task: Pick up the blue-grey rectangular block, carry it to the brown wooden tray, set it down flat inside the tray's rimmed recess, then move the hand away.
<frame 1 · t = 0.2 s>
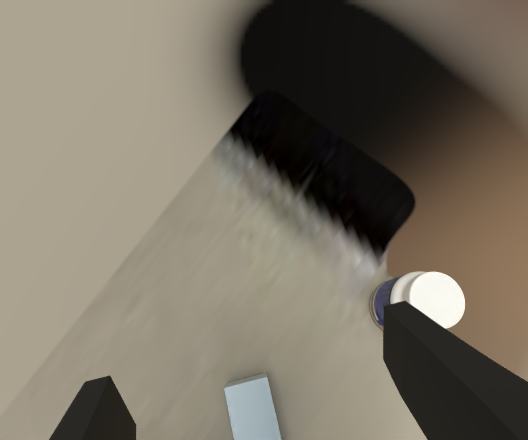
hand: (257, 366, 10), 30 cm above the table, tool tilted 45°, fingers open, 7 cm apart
pill bottle: (394, 308, 40), on the table
blue-grey rectangular block: (256, 419, 37), on the table
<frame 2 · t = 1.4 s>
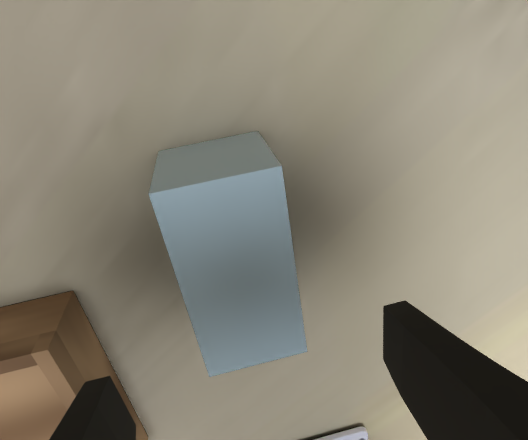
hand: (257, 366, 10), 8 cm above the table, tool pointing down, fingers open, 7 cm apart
blue-grey rectangular block: (228, 225, 17), on the table
brown wooden tray: (44, 392, 19), on the table
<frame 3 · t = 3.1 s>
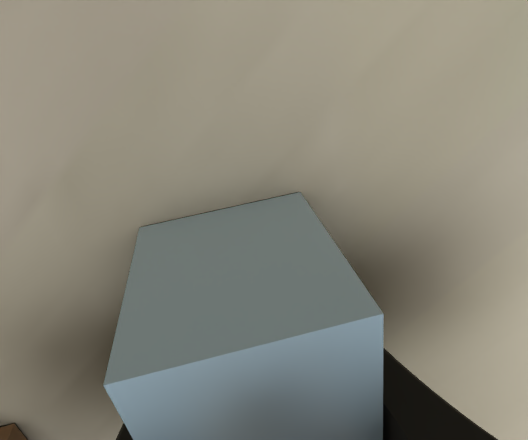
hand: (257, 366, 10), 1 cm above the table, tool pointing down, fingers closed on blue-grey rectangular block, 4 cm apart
blue-grey rectangular block: (249, 327, 11), on the table, touching gripper
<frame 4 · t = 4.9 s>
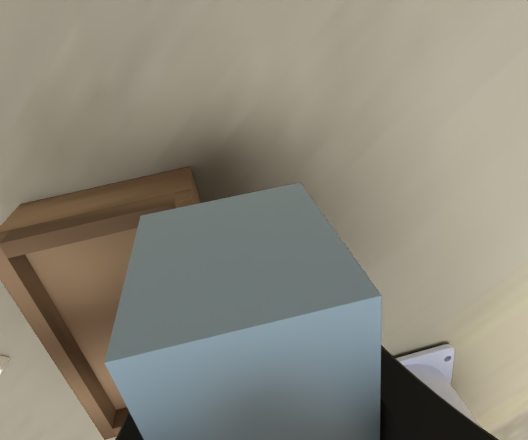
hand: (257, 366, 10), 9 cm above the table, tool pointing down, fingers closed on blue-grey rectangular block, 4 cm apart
blue-grey rectangular block: (248, 318, 11), point 7 cm above the table, touching gripper
brown wooden tray: (148, 286, 19), on the table
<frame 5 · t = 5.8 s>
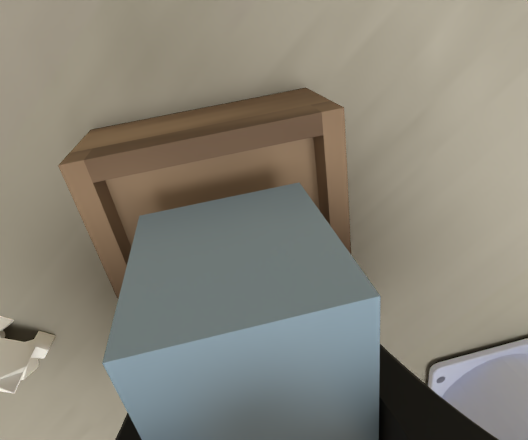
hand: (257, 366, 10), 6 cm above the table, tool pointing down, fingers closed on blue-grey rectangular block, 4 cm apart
blue-grey rectangular block: (247, 318, 11), point 4 cm above the table, touching gripper
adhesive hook: (8, 348, 16), on the table
brown wooden tray: (233, 248, 15), on the table
when the fingers open (5 cm above the table, at t = 6.7 s): blue-grey rectangular block drops 1 cm, resting on brown wooden tray.
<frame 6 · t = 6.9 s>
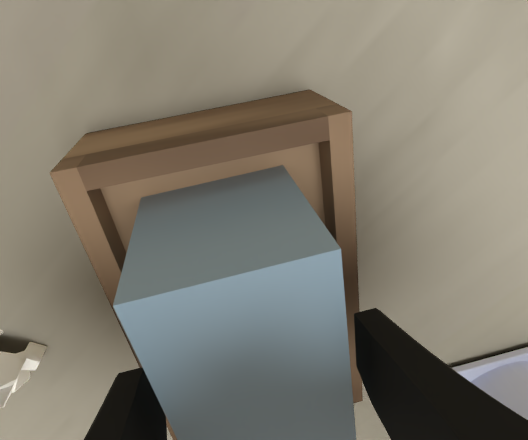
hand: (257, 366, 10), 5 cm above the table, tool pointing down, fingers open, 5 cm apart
blue-grey rectangular block: (241, 291, 12), point 2 cm above the table, touching brown wooden tray
brown wooden tray: (234, 255, 15), on the table
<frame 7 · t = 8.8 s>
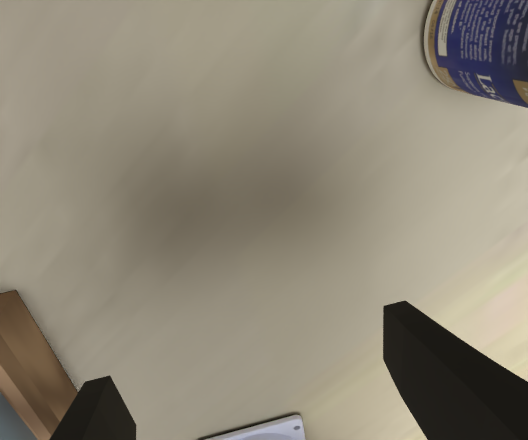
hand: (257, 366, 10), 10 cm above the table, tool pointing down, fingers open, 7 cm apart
pill bottle: (473, 25, 17), on the table
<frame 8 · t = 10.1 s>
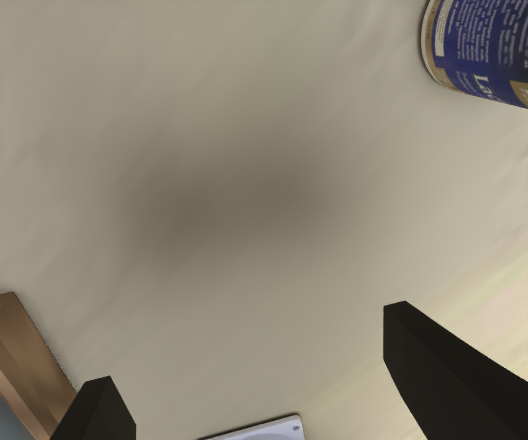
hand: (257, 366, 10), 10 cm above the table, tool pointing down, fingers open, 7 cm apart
pill bottle: (470, 25, 17), on the table
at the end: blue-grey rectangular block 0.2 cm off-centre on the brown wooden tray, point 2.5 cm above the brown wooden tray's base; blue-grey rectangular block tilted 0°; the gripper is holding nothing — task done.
